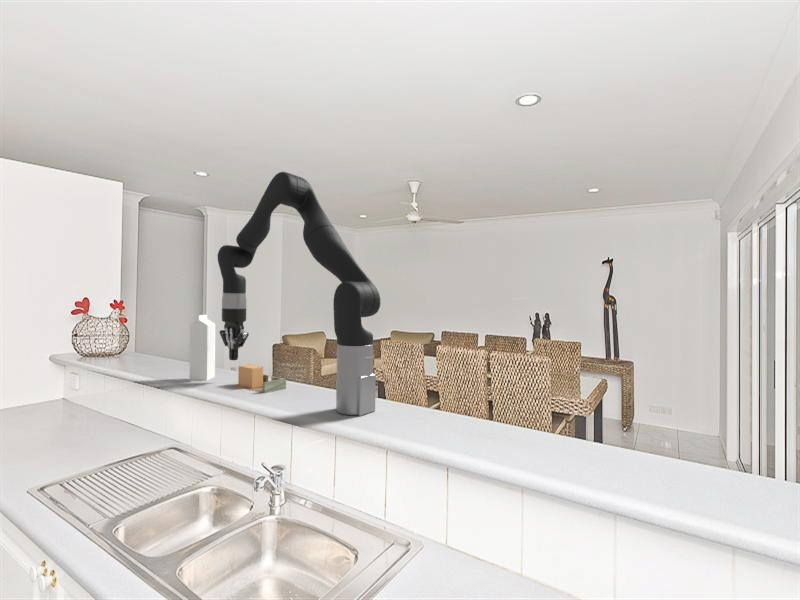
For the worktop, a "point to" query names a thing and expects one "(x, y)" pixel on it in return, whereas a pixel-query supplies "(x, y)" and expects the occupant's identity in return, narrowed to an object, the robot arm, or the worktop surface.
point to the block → (250, 376)
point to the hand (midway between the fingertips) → (233, 359)
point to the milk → (202, 349)
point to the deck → (268, 385)
